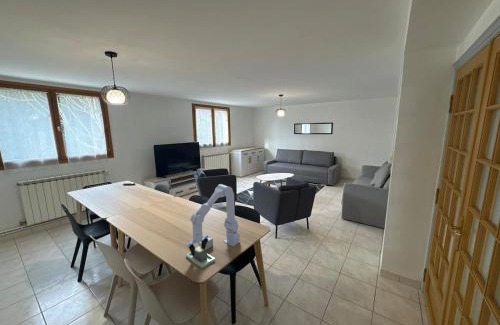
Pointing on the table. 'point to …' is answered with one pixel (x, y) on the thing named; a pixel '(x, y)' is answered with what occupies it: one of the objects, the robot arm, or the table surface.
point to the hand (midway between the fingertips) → (198, 252)
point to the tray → (200, 264)
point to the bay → (209, 243)
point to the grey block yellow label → (200, 254)
